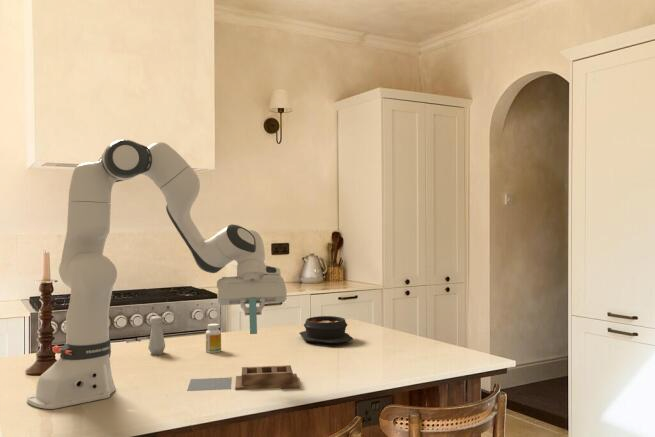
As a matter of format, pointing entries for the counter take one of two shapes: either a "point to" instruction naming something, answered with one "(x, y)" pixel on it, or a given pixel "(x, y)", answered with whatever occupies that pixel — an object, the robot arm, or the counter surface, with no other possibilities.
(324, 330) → the casserole
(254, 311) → the teal rectangular block
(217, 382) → the mat
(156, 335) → the salt shaker
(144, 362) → the counter surface
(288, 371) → the rack
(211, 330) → the supplement bottle
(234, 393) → the counter surface
